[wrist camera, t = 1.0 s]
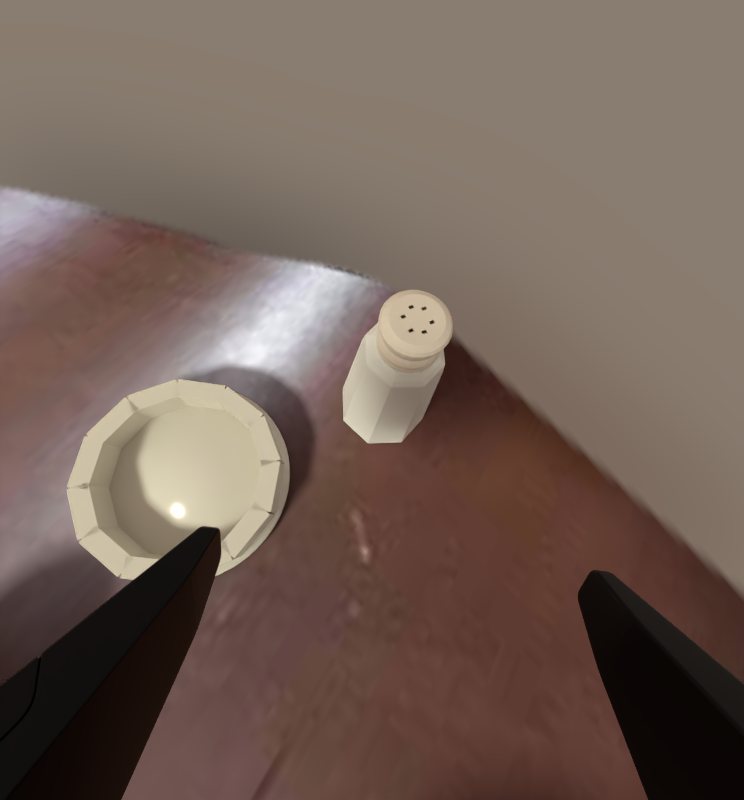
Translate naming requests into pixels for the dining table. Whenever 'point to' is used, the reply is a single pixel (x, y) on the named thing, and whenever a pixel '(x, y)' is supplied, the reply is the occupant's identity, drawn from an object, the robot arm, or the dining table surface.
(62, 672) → the robot arm
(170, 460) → the ring dish
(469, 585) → the dining table surface
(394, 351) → the pepper shaker
